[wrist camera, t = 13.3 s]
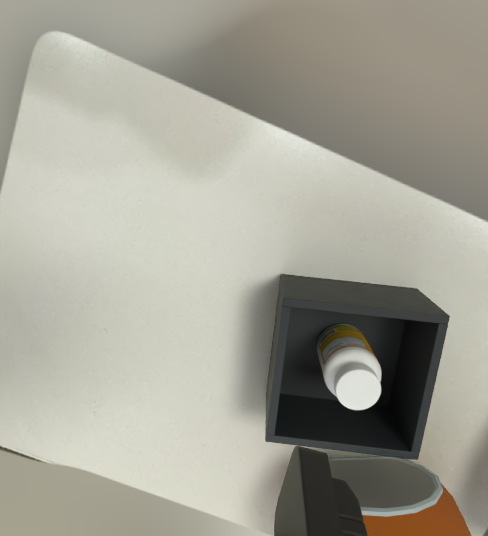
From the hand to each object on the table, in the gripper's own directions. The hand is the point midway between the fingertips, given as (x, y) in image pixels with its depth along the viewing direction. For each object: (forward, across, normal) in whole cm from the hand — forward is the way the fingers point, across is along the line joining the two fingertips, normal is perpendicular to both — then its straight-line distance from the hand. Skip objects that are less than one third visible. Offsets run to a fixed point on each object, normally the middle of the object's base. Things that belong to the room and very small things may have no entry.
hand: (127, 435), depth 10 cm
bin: (+36, -14, +10) cm, 40 cm away
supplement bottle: (+36, -14, +10) cm, 40 cm away
